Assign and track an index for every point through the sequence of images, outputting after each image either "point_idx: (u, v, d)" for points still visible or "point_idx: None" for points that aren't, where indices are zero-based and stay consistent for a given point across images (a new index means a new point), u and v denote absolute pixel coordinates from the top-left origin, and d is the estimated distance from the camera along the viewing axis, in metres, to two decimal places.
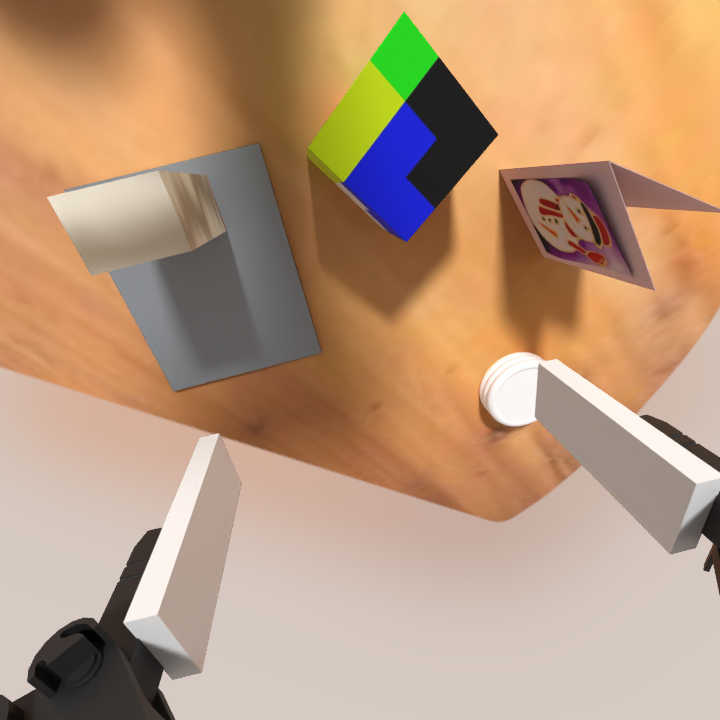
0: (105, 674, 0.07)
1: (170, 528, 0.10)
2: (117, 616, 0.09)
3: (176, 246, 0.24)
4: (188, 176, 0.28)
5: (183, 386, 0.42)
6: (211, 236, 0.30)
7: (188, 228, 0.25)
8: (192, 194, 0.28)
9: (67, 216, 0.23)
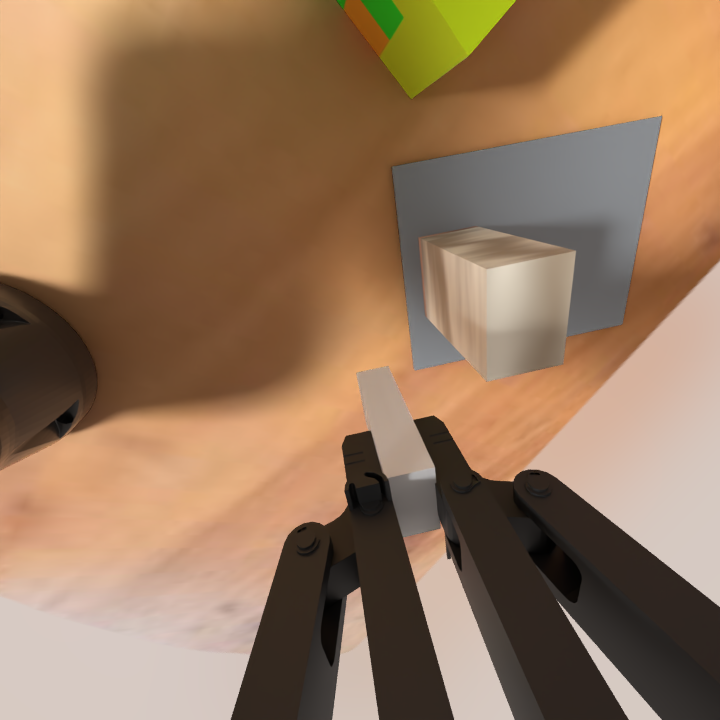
0: (384, 517, 0.09)
1: (378, 426, 0.12)
2: None
3: (565, 268, 0.19)
4: (447, 249, 0.24)
5: (622, 313, 0.36)
6: (512, 236, 0.24)
7: (538, 252, 0.20)
8: (470, 247, 0.24)
9: (506, 369, 0.22)
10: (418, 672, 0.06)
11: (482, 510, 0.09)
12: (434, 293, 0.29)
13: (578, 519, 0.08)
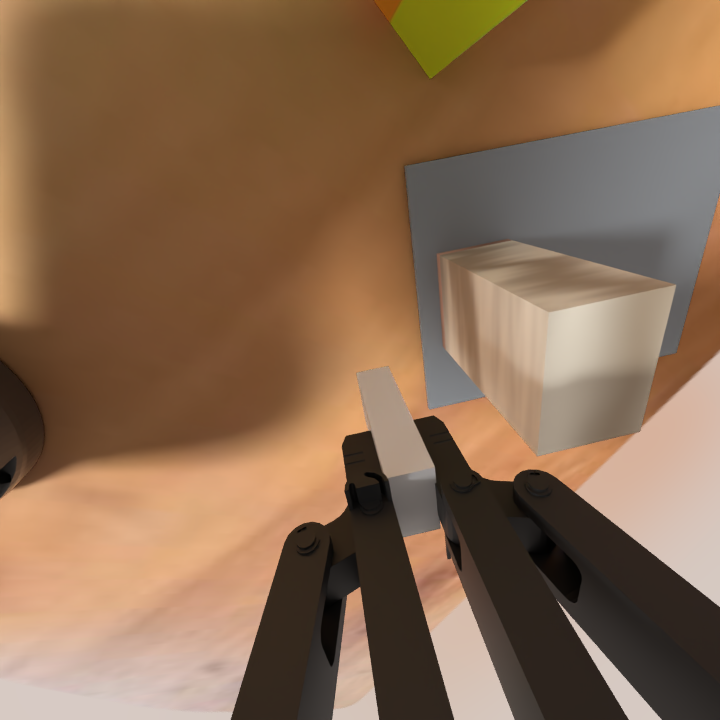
0: (384, 517, 0.09)
1: (378, 427, 0.12)
2: None
3: (658, 309, 0.14)
4: (479, 273, 0.19)
5: (677, 339, 0.30)
6: (565, 256, 0.19)
7: (616, 284, 0.14)
8: (511, 272, 0.18)
9: (564, 441, 0.16)
10: (418, 673, 0.06)
11: (482, 510, 0.09)
12: (457, 324, 0.23)
13: (578, 519, 0.08)
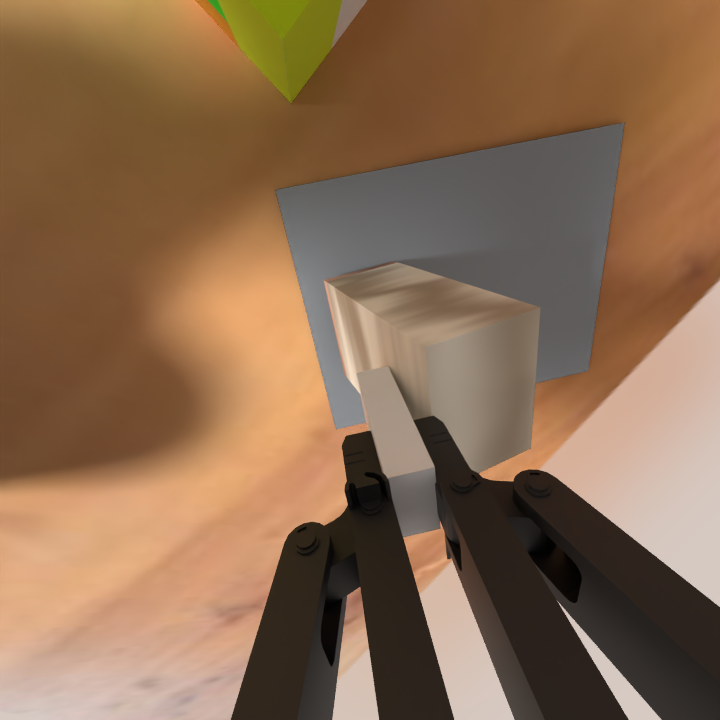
0: (384, 517, 0.09)
1: (378, 427, 0.12)
2: None
3: (528, 332, 0.14)
4: (362, 302, 0.17)
5: (587, 358, 0.30)
6: (444, 279, 0.19)
7: (489, 309, 0.14)
8: (393, 299, 0.17)
9: None
10: (418, 672, 0.06)
11: (482, 510, 0.09)
12: (352, 353, 0.22)
13: (578, 519, 0.08)
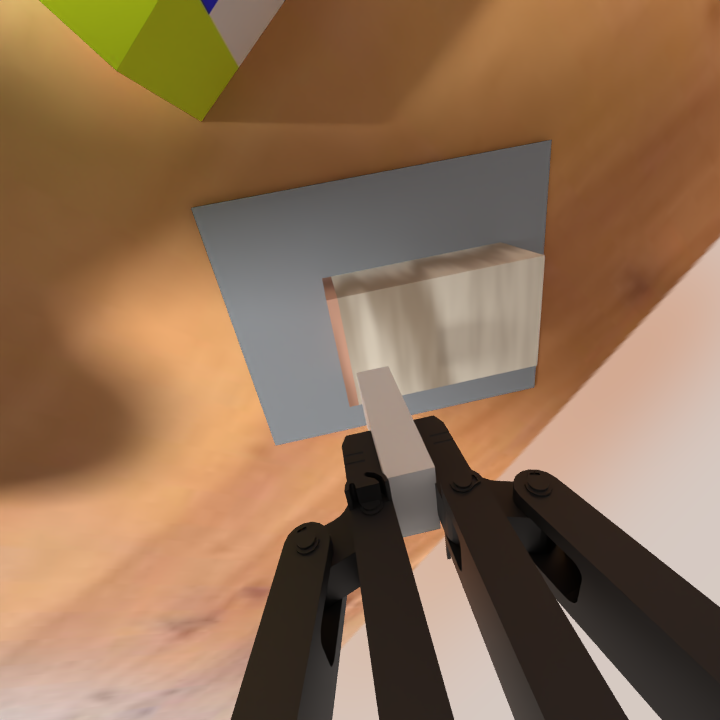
0: (384, 517, 0.09)
1: (378, 427, 0.12)
2: None
3: None
4: (435, 276, 0.20)
5: (532, 374, 0.29)
6: (415, 260, 0.24)
7: (493, 249, 0.23)
8: (441, 268, 0.21)
9: None
10: (418, 673, 0.06)
11: (482, 510, 0.09)
12: (393, 353, 0.21)
13: (578, 519, 0.08)
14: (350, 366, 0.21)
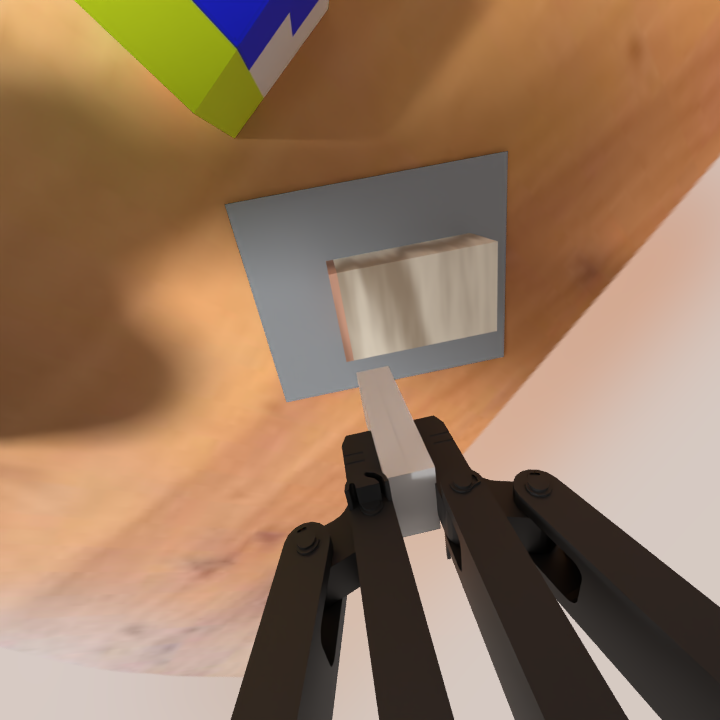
0: (384, 517, 0.09)
1: (378, 427, 0.12)
2: None
3: None
4: (412, 257, 0.25)
5: (501, 345, 0.35)
6: (400, 247, 0.30)
7: (462, 237, 0.29)
8: (418, 252, 0.27)
9: None
10: (417, 672, 0.06)
11: (482, 510, 0.09)
12: (380, 318, 0.27)
13: (578, 519, 0.08)
14: (347, 328, 0.27)
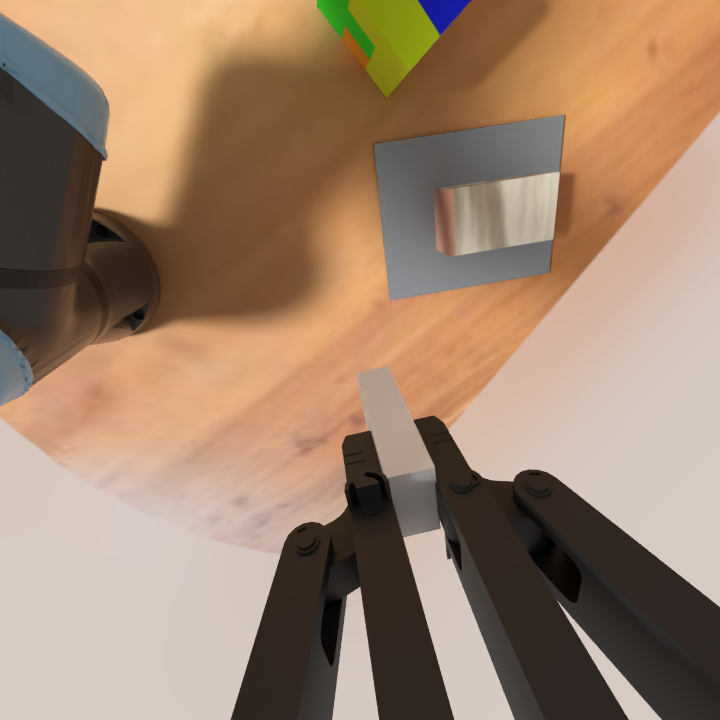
0: (384, 517, 0.09)
1: (378, 427, 0.12)
2: None
3: None
4: (503, 180, 0.38)
5: (548, 263, 0.48)
6: (486, 181, 0.42)
7: (530, 174, 0.41)
8: (504, 179, 0.39)
9: None
10: (417, 672, 0.06)
11: (482, 510, 0.09)
12: (477, 224, 0.40)
13: (578, 519, 0.08)
14: (454, 230, 0.40)
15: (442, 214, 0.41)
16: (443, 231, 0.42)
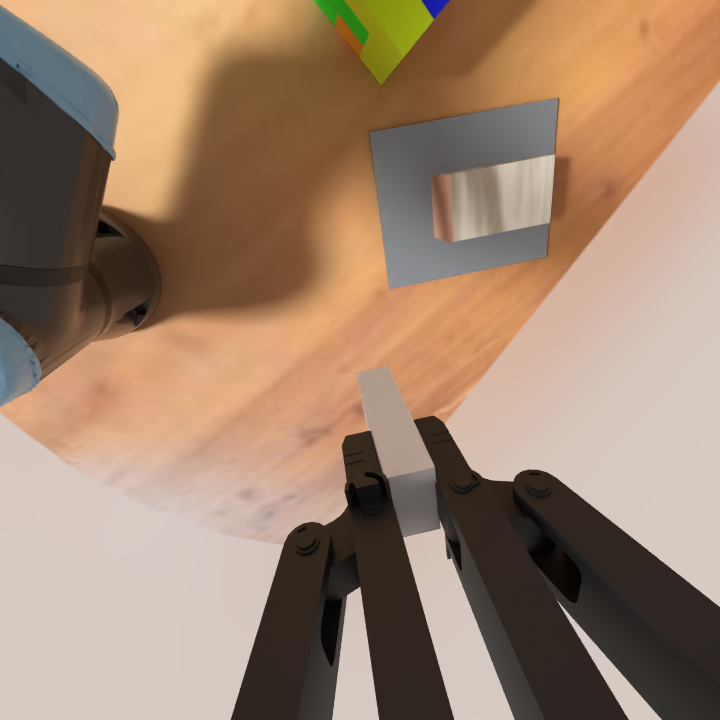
0: (384, 517, 0.09)
1: (378, 427, 0.12)
2: None
3: None
4: (499, 165, 0.38)
5: (545, 247, 0.48)
6: None
7: (526, 158, 0.42)
8: (500, 164, 0.40)
9: None
10: (418, 673, 0.06)
11: (482, 510, 0.09)
12: (474, 209, 0.40)
13: (578, 519, 0.08)
14: (452, 216, 0.40)
15: (439, 200, 0.41)
16: (440, 217, 0.42)
